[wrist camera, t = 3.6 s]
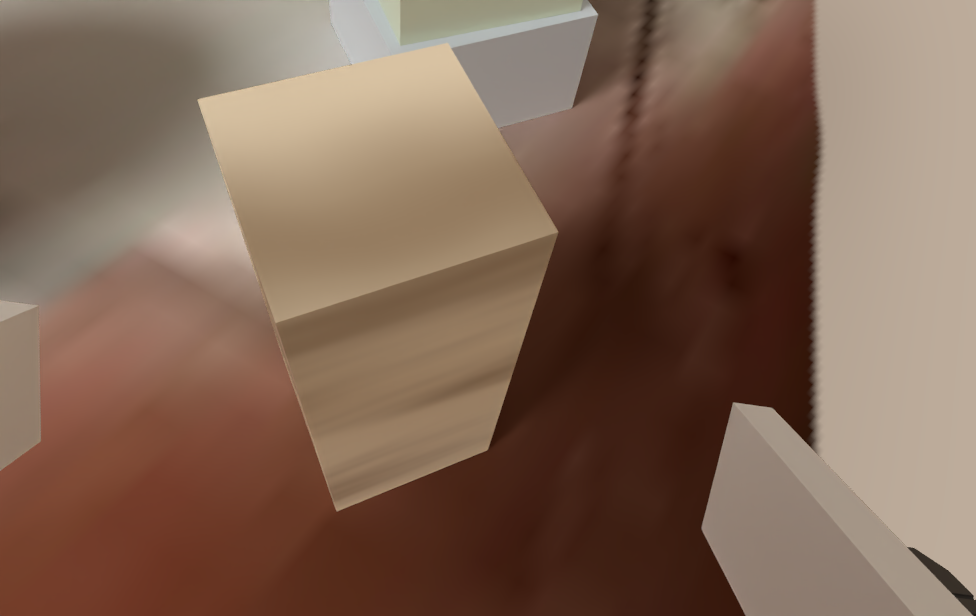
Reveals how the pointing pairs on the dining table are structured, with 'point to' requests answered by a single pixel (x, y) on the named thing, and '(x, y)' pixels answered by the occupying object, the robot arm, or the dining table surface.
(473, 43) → the tower base
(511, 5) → the tower top
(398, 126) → the pillar
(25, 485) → the dining table surface
